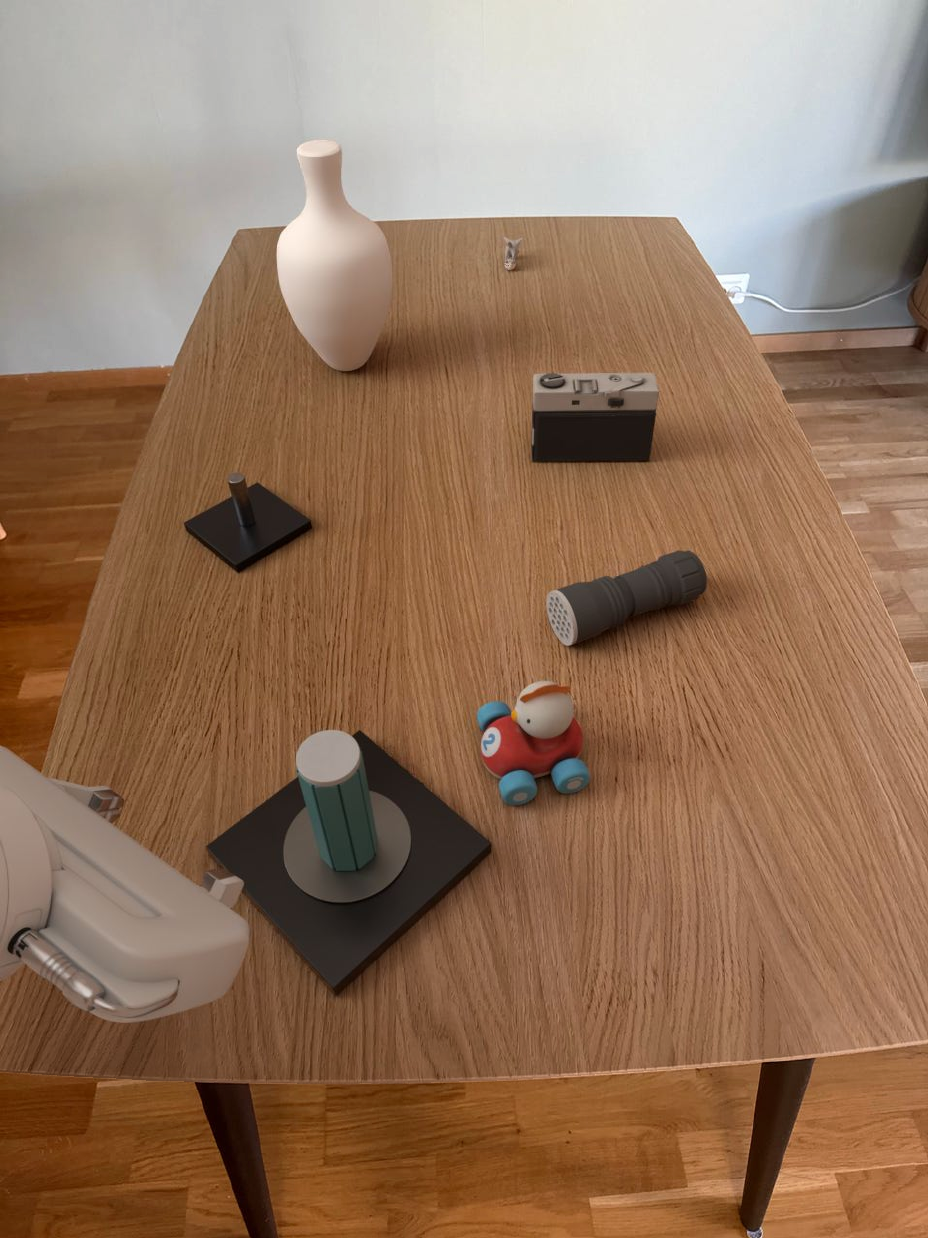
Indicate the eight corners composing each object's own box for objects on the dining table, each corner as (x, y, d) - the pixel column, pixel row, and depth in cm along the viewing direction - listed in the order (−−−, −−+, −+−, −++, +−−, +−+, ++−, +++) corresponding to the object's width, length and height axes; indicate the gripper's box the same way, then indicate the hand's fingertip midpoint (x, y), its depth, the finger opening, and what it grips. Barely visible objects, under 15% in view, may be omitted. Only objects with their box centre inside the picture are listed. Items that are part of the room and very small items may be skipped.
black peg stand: (238, 573, 96) (223, 520, 91) (185, 530, 101) (169, 478, 96) (312, 528, 101) (302, 475, 96) (259, 490, 106) (247, 438, 101)
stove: (335, 997, 65) (332, 987, 63) (209, 856, 73) (203, 844, 72) (492, 852, 72) (491, 841, 71) (361, 739, 81) (359, 727, 79)
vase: (359, 403, 118) (330, 177, 98) (273, 375, 124) (229, 156, 104) (420, 353, 126) (405, 136, 106) (337, 329, 132) (308, 117, 112)
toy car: (469, 726, 81) (466, 651, 74) (563, 706, 82) (569, 630, 75) (495, 812, 75) (495, 739, 68) (597, 789, 76) (607, 715, 69)
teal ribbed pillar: (344, 882, 69) (322, 793, 60) (309, 846, 71) (282, 755, 63) (388, 845, 71) (373, 754, 62) (352, 811, 73) (332, 719, 65)
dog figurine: (521, 277, 147) (524, 240, 146) (518, 263, 139) (520, 225, 138) (501, 276, 147) (504, 240, 147) (497, 262, 139) (499, 224, 139)
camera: (643, 424, 113) (652, 350, 106) (650, 463, 107) (661, 389, 100) (530, 424, 114) (532, 351, 107) (531, 464, 108) (533, 390, 101)
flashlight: (677, 573, 94) (684, 534, 90) (707, 607, 91) (716, 567, 87) (545, 620, 90) (547, 580, 86) (571, 656, 87) (575, 617, 83)
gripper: (141, 954, 34) (333, 889, 47) (-162, 716, 42) (72, 715, 55) (80, 1101, 35) (286, 996, 48) (-208, 838, 43) (34, 809, 56)
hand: (169, 844), depth 51 cm, fingers open, 8 cm apart
